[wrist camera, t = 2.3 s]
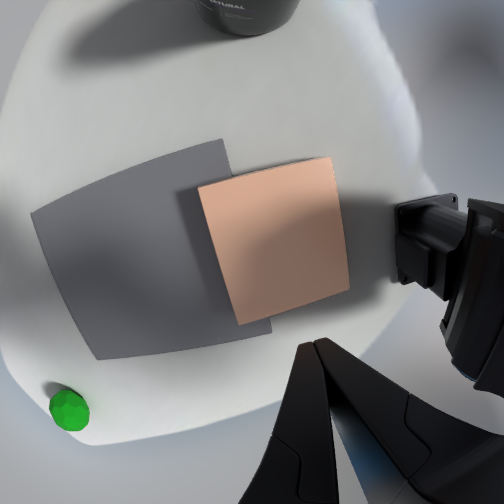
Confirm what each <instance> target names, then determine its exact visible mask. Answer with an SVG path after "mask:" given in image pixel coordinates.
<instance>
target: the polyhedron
mask: <svg viewBox="0 0 504 504" xmlns="http://www.w3.org/2000/svg"><path fill="white" fill-rule="evenodd" d="M49 410H50V413H51V415H52V417H53V419H54V421H55V422H56V424H57V425H58V426H59V427H61V428H63V429H64V430H66V431H80V430H82V429H83V428H84V427H85V426H86V425H87V424H88V422H89V414H90V412H89V408H88V406H87V404H86V402H85V400H84V399H83V398H82V397H80V396H79V395H77V394H76V393H74V392H72V391H70V390H61V391H59V392H58V393H57V394H56V395H55V396H53V397H52V399H51V400H50V405H49Z"/></svg>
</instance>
